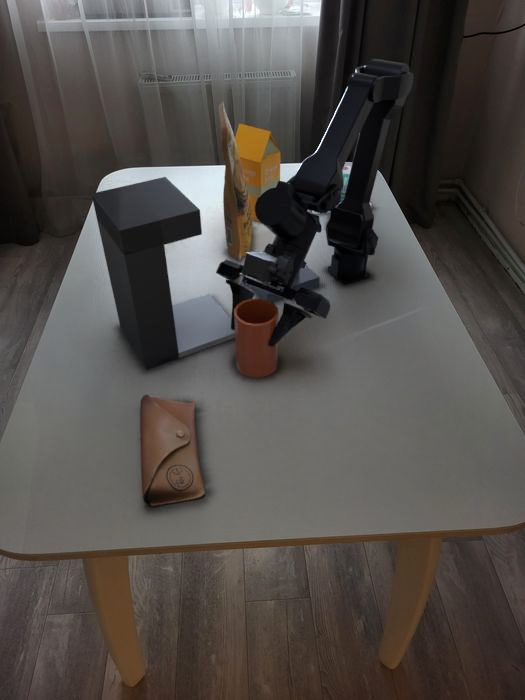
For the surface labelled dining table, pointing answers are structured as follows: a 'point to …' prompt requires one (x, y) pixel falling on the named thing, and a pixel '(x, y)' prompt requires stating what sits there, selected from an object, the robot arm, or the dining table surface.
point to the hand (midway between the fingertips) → (251, 337)
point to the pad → (303, 280)
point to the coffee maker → (154, 271)
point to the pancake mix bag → (235, 194)
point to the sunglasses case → (169, 452)
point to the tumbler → (255, 337)
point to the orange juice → (258, 161)
